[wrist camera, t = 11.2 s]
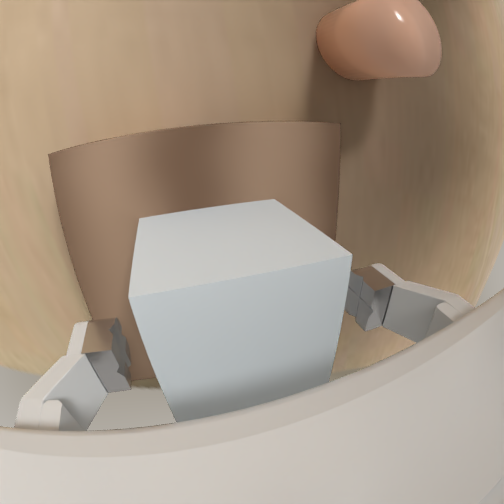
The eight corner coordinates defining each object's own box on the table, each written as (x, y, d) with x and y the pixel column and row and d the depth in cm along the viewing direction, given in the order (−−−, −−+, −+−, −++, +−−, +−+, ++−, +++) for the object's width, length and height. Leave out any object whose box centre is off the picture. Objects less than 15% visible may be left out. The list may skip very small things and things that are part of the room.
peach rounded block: (376, 21, 12) (435, 8, 8) (381, 85, 14) (444, 86, 10) (313, 4, 11) (369, -25, 7) (318, 75, 13) (380, 64, 9)
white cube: (274, 199, 12) (352, 254, 7) (274, 306, 14) (327, 387, 10) (139, 218, 10) (128, 297, 6) (164, 329, 13) (179, 427, 8)
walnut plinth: (308, 121, 14) (340, 123, 11) (302, 310, 19) (323, 337, 17) (70, 147, 11) (48, 154, 8) (123, 346, 16) (122, 381, 14)
